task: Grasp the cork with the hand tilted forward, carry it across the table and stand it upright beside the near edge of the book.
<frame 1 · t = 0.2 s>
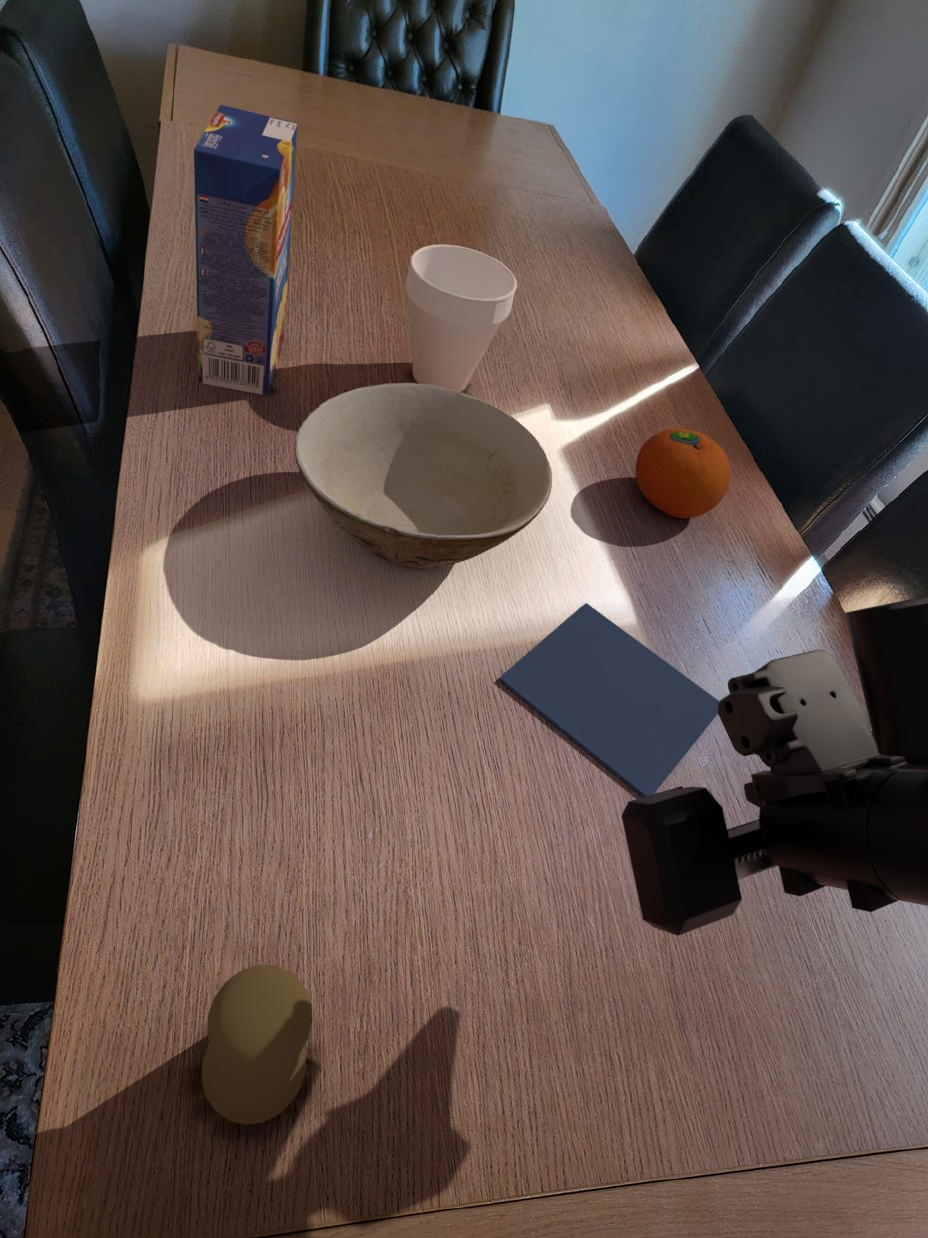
hand: (689, 809, 51), 14 cm above the table, tool tilted 35°, fingers open, 9 cm apart
cork: (254, 1066, 49), on the table
fruit: (666, 501, 95), on the table
book: (613, 694, 74), on the table
cup: (439, 378, 102), on the table
blue cardboard box: (243, 361, 95), on the table
bowl: (409, 528, 83), on the table
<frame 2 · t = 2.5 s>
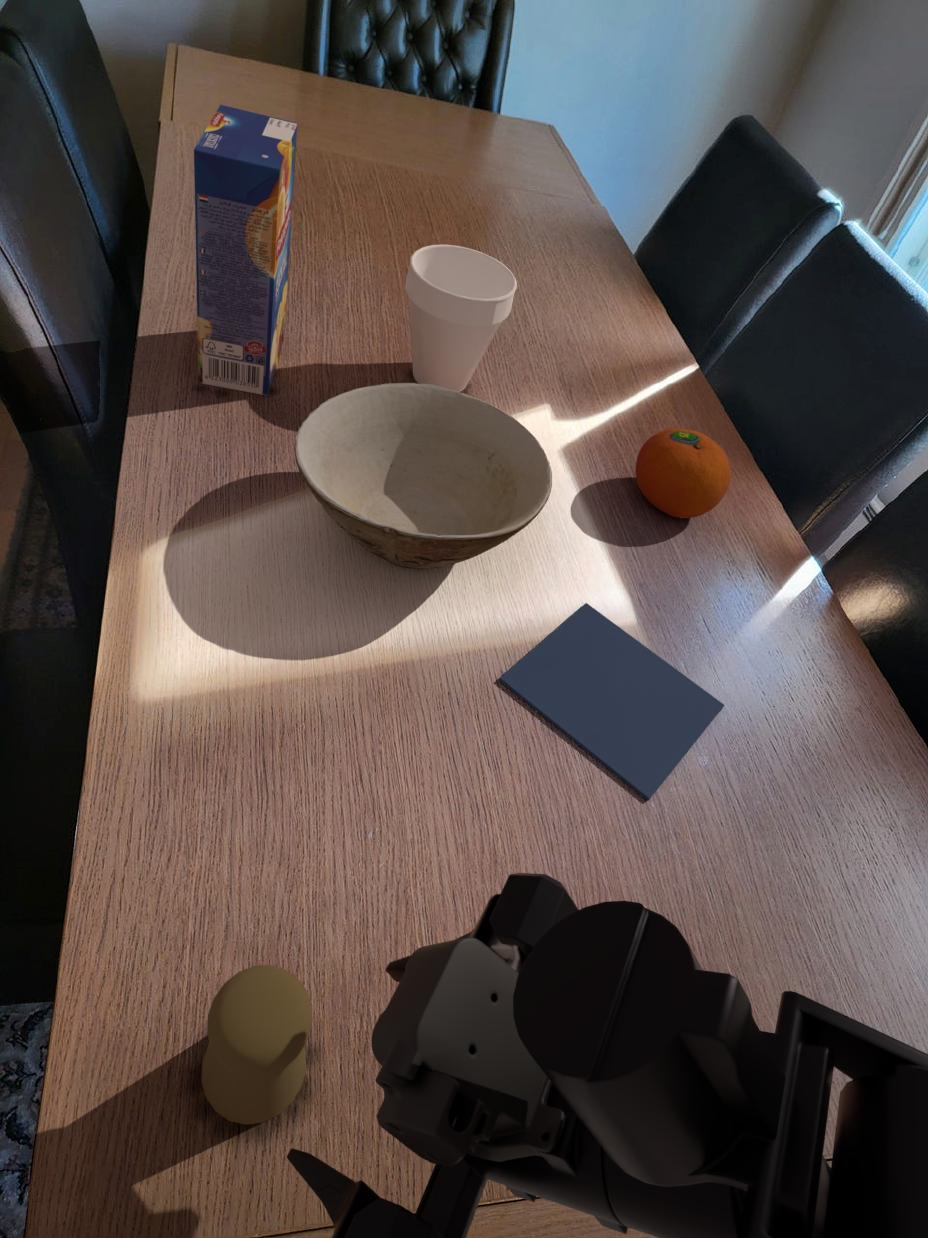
hand: (346, 1057, 40), 11 cm above the table, tool tilted 45°, fingers open, 9 cm apart
nothing on the table moved.
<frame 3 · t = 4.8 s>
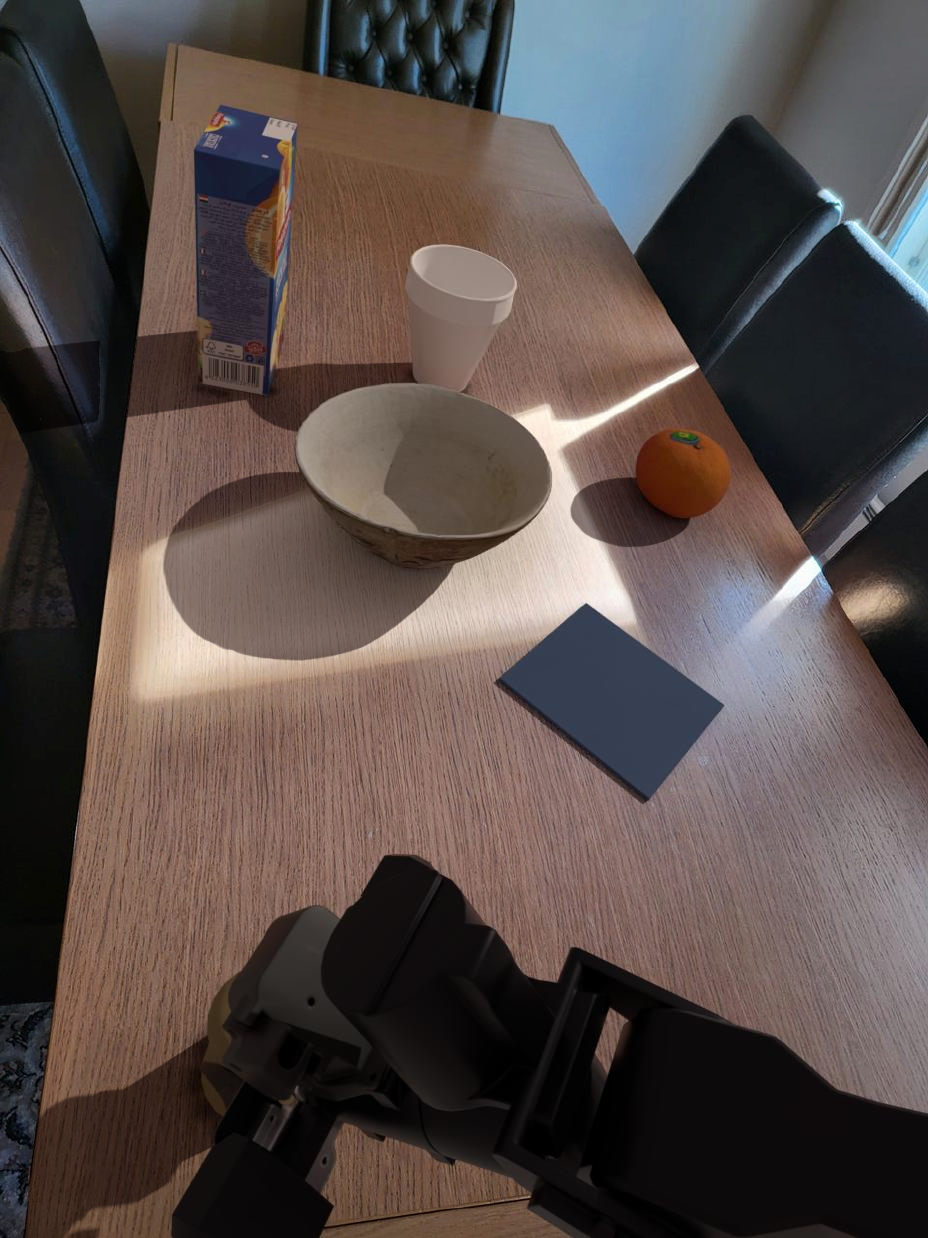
hand: (236, 1021, 44), 7 cm above the table, tool tilted 45°, fingers closed on cork, 5 cm apart
cork: (254, 1066, 49), on the table, touching gripper
everything else where it was.
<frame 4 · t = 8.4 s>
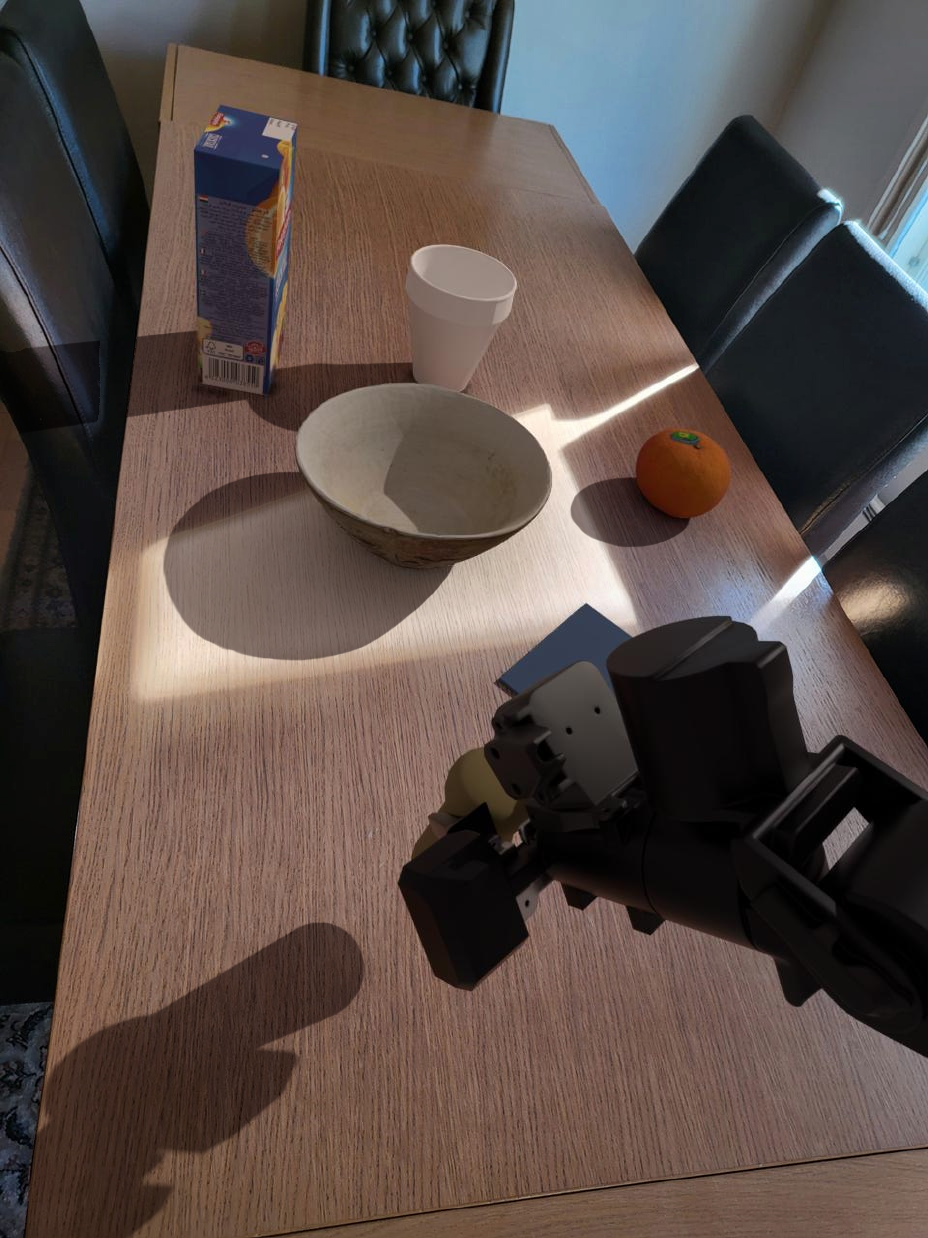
hand: (465, 798, 49), 13 cm above the table, tool tilted 45°, fingers closed on cork, 5 cm apart
cork: (456, 866, 53), point 6 cm above the table, touching gripper
everything else where it was.
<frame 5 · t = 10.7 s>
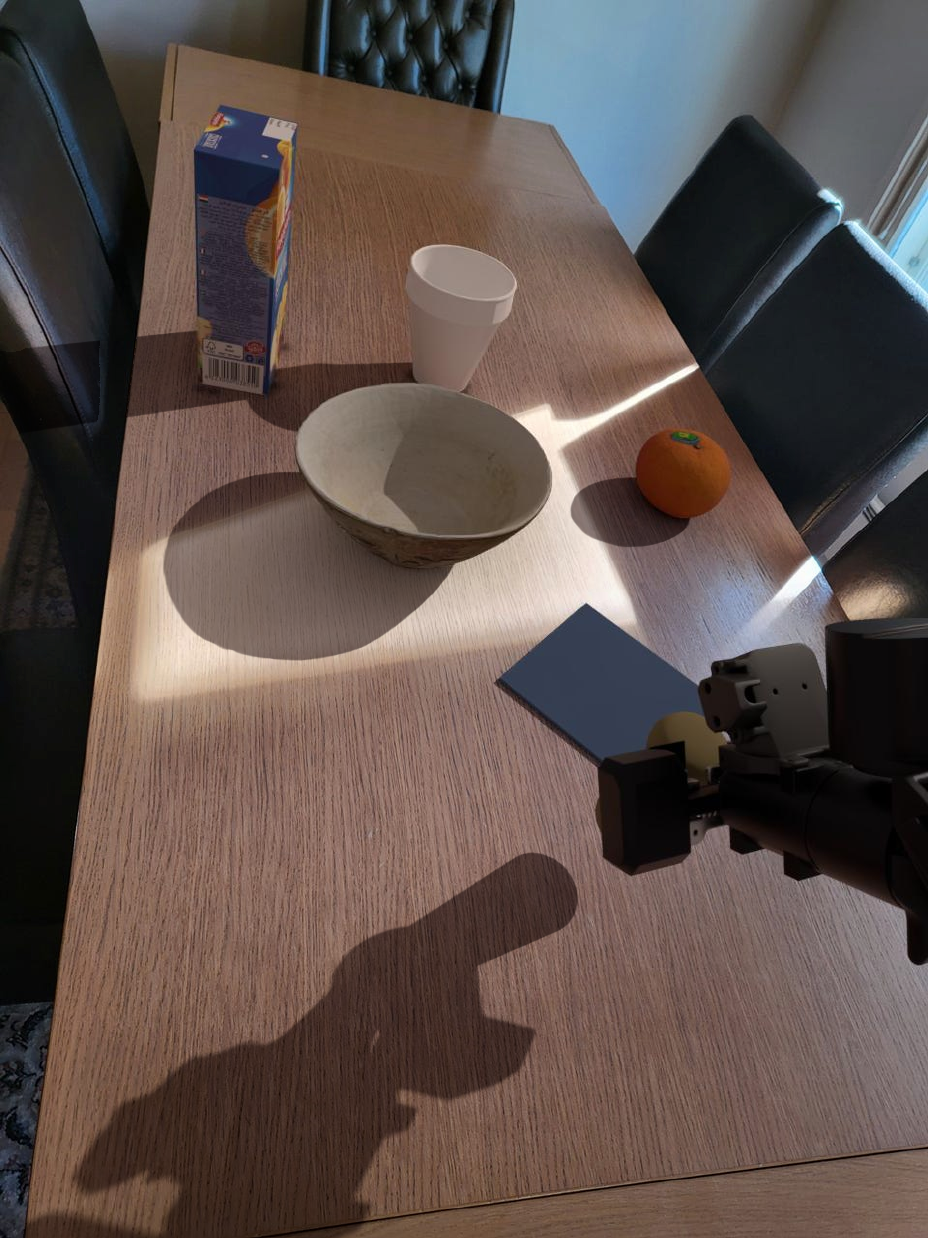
hand: (661, 755, 56), 12 cm above the table, tool tilted 45°, fingers closed on cork, 5 cm apart
cork: (634, 821, 60), point 5 cm above the table, touching gripper
everything else where it was.
when the fingers open (7 cm above the table, at t = 12.5 s): cork stays where it is, on the table.
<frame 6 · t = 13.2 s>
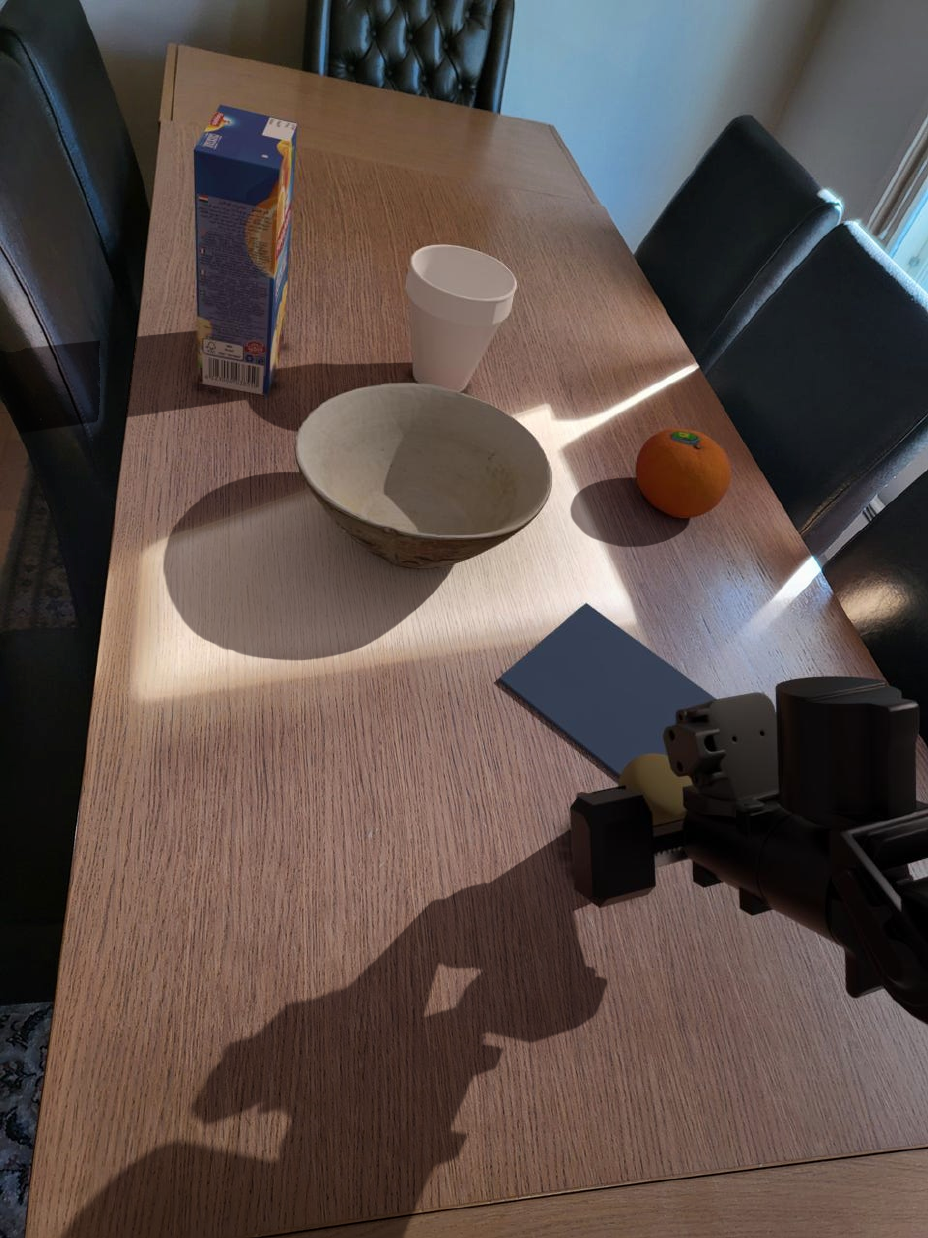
hand: (634, 787, 59), 7 cm above the table, tool tilted 45°, fingers open, 9 cm apart
cork: (608, 851, 64), on the table
everything else where it was.
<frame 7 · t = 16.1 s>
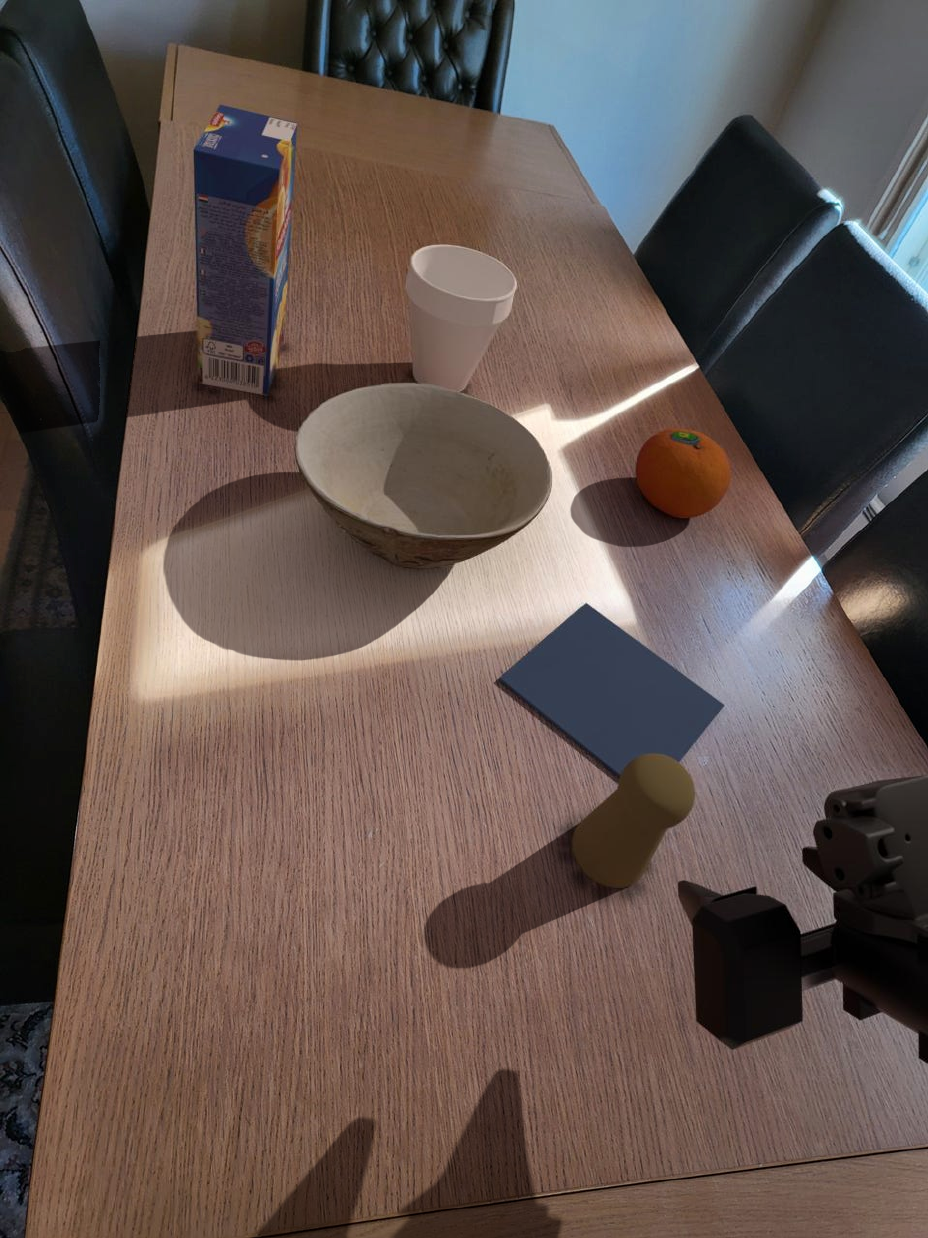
hand: (744, 871, 49), 14 cm above the table, tool tilted 45°, fingers open, 9 cm apart
nothing on the table moved.
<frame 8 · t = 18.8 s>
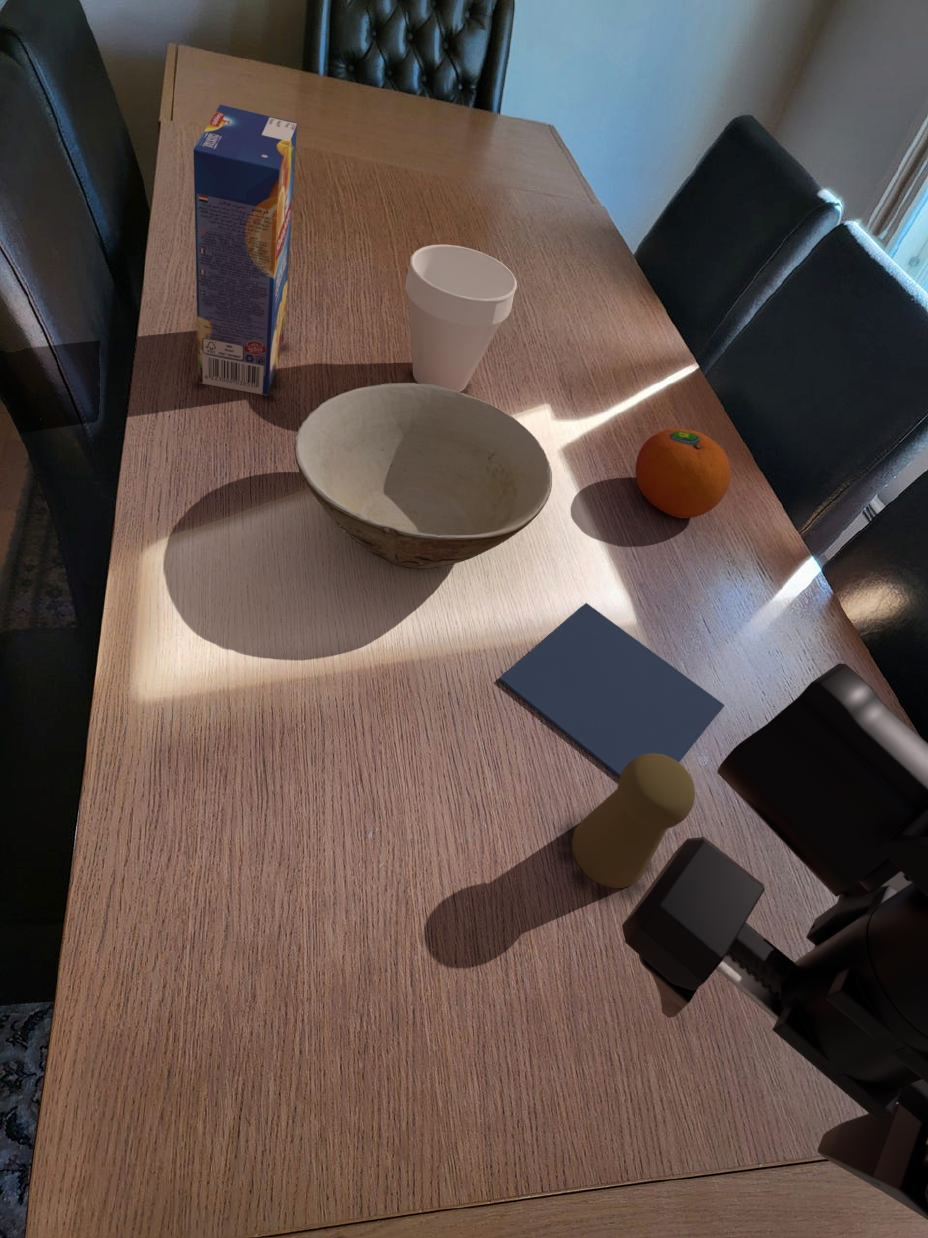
hand: (743, 1074, 42), 13 cm above the table, tool pointing down, fingers open, 9 cm apart
nothing on the table moved.
at the end: cork inside the target area on the table beside the book (0.1 cm from its centre), on the table; cork tilted 0°; the gripper is holding nothing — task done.
